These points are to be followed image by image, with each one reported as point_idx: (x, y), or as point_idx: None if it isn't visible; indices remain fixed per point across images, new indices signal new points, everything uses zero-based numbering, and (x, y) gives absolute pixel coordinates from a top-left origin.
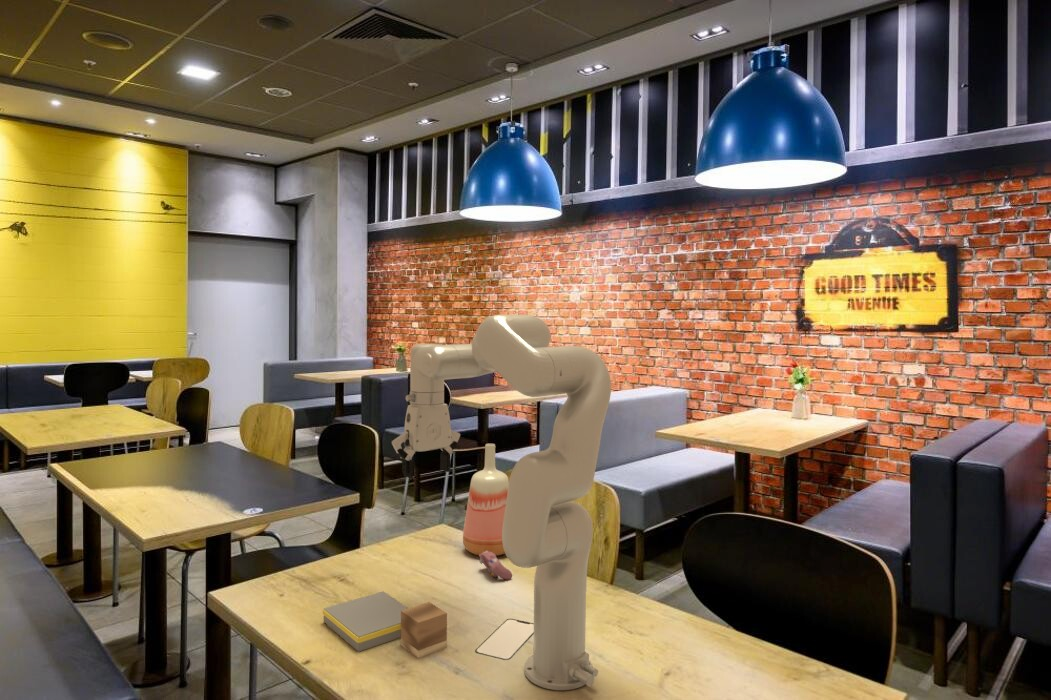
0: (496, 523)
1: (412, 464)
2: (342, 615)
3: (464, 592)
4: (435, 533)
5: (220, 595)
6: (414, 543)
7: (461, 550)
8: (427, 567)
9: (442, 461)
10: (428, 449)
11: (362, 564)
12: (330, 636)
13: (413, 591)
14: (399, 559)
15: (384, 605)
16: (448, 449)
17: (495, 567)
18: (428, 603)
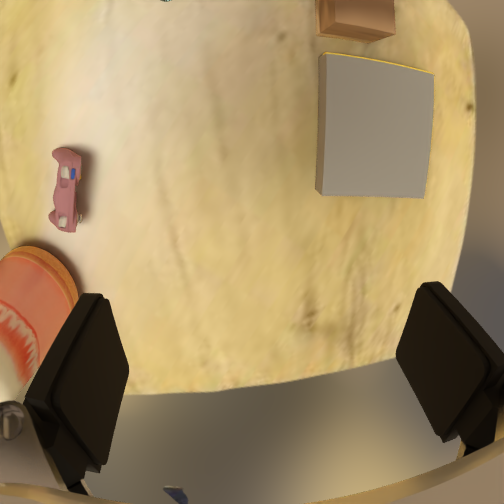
0: (10, 279)
1: (477, 342)
2: (419, 154)
3: (160, 142)
4: None
5: None
6: (143, 371)
7: None
8: (163, 283)
9: (106, 397)
10: (454, 475)
11: (253, 347)
12: None
13: (240, 204)
14: (191, 336)
15: (353, 138)
16: (21, 454)
17: (74, 157)
18: (340, 17)
